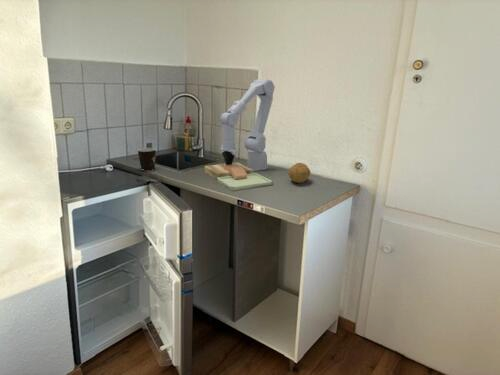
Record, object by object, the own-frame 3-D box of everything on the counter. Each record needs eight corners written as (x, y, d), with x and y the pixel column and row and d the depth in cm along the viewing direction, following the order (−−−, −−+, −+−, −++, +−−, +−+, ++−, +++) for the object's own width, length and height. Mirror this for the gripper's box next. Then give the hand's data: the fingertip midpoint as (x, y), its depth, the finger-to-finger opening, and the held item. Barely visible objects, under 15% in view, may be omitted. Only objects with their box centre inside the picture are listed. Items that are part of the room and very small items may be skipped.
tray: (255, 176, 182) (255, 172, 181) (273, 184, 168) (273, 181, 168) (216, 181, 173) (216, 177, 172) (231, 190, 159) (231, 187, 159)
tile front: (241, 170, 179) (242, 166, 177) (246, 178, 175) (247, 174, 174) (229, 171, 176) (230, 168, 175) (234, 179, 172) (235, 176, 171)
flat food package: (237, 168, 196) (237, 162, 195) (252, 175, 182) (252, 169, 181) (204, 172, 187) (204, 166, 186) (217, 180, 174) (217, 173, 173)
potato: (285, 185, 168) (286, 167, 166) (290, 177, 181) (291, 160, 179) (307, 187, 166) (308, 169, 163) (311, 178, 179) (312, 162, 176)
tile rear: (235, 167, 184) (235, 163, 183) (241, 170, 179) (241, 166, 178) (224, 169, 181) (224, 165, 180) (229, 172, 176) (229, 168, 175)
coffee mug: (149, 166, 196) (147, 147, 194) (160, 169, 192) (159, 149, 189) (130, 170, 187) (128, 150, 184) (141, 173, 183) (140, 153, 180)
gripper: (214, 136, 183) (215, 164, 187) (227, 141, 171) (227, 171, 175) (228, 135, 187) (228, 163, 191) (241, 140, 174) (241, 169, 178)
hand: (228, 166), depth 183 cm, fingers closed
